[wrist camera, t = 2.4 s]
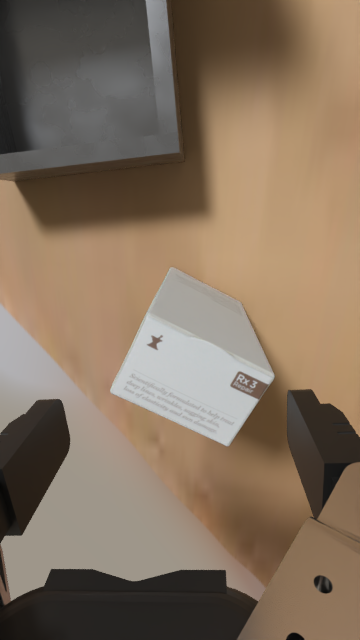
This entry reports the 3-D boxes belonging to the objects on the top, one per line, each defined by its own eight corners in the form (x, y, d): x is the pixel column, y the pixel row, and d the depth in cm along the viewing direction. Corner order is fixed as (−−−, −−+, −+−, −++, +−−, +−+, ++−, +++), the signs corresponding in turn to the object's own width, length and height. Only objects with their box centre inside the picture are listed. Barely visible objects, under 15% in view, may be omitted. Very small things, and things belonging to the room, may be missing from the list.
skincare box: (147, 314, 26) (97, 398, 15) (172, 261, 25) (140, 309, 13) (218, 349, 27) (225, 457, 15) (247, 299, 25) (279, 378, 14)
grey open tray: (160, -130, 18) (146, -225, 14) (184, 161, 23) (179, 151, 19) (-48, -86, 19) (-114, -161, 16) (13, 181, 24) (-26, 176, 20)
